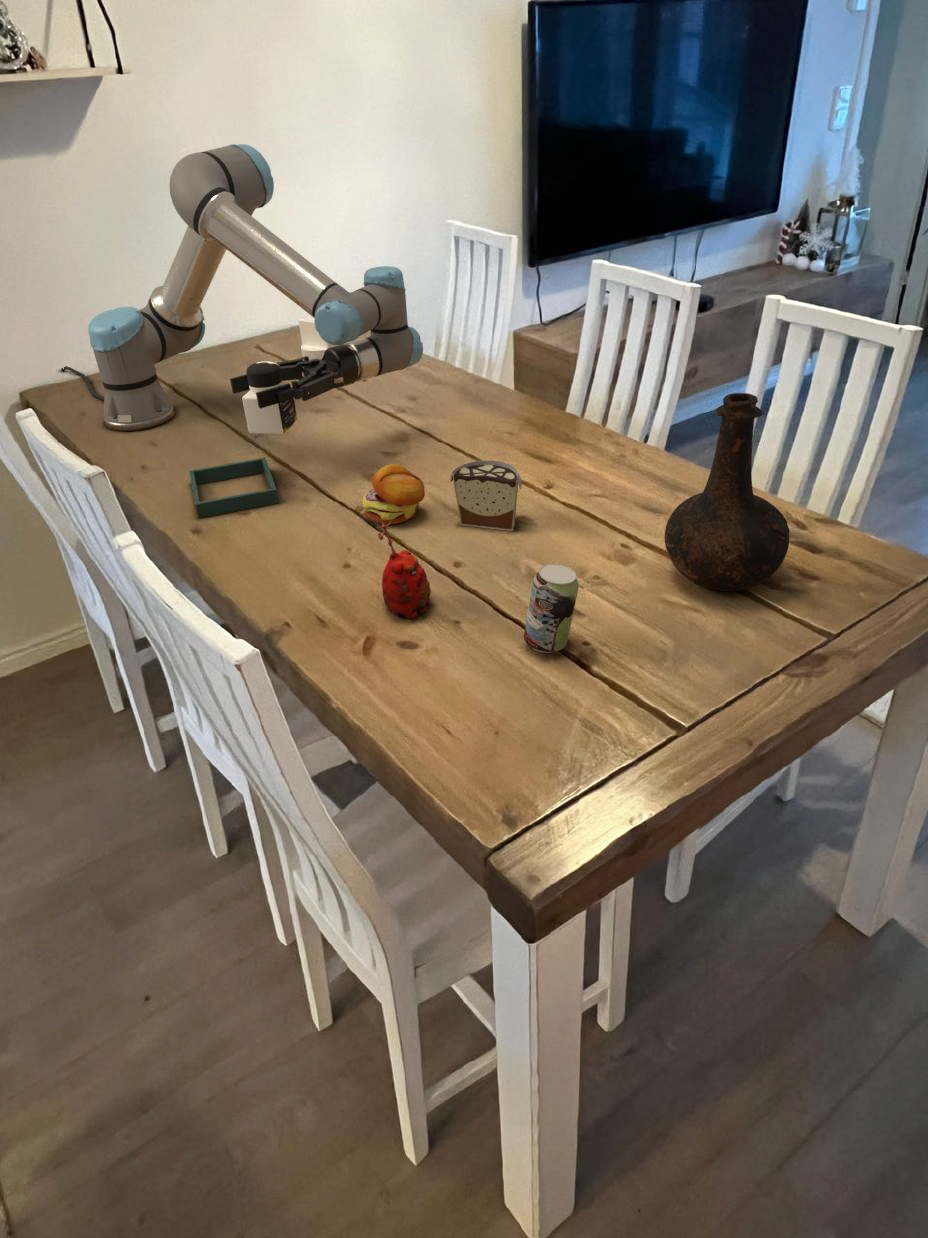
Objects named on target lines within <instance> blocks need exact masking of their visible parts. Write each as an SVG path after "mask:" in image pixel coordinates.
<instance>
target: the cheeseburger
mask: <svg viewBox="0 0 928 1238" xmlns="http://www.w3.org/2000/svg"><path fill="white" fill-rule="evenodd" d="M371 481H372V482H371V485H372V487H371V488H369V489H368V490H367V491H366V493H364V495H363V497H362V507H363V508H364V513H365V515H366V516H367V518H369V519H370V520H372V521H374V522H376V523H377V524H381V522H380V521H378V519H380V520H381V521H382V522H383V524H384V525H388V524H389V523H390V522H392V523H391V524H390V525H395V524H396V525H397V524H400V523H403V522H407V521H408V520H410V519H411V518H413V517H414V516H415V515H416V513H417V510H418V506H419V504H420V503H421V502H422V501H423V500H424V498H425V496H426V492H425V484H424V482H423V480H422V478H420V477H419V476H417V475H415V474H414V473H413V472H411V471H410V470H409V469H408V468H406V466H404V465H401V464H398V463H397V464H395V463H389V464H386V465H385V466H383V467H381V468H380V469H378V470H377V472H375V473H374V475H373V477H372V479H371Z"/></svg>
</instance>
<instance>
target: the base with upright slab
mask: <svg viewBox="0 0 928 1238" xmlns="http://www.w3.org/2000/svg"><path fill="white" fill-rule="evenodd" d="M298 327H299V333H300V340H301V346H300V351H301V358H302V357H305V356H307V357H309V361H310V360H312V359H319V360H322V358H323V356H324V353H325V351H326V349H328V348H330V347H334V346H338V345H332V344H329V343H327V342H325V341H324V340H323V339H322V338H321V337H320V334H319V333H318V331H317V330H316V328H315V323H314V317H302V318H300V319H298Z"/></svg>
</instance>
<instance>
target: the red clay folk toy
mask: <svg viewBox="0 0 928 1238" xmlns="http://www.w3.org/2000/svg"><path fill="white" fill-rule="evenodd" d="M378 521H380V522H381V523H380V524H381V525H382V526H381V527H380V526H379V527H378V526H377V527H376V530H377V529H378V530H381V529H382V530H383V531H382V532H378V534H377V537H378V540H380V541H383V539H384V535H386V537H387V544H388V546H389V547H390V549H391V554H390V555H389V558H388V561H387V562H386V564H385V567H384V569H383V571H382V577H381V587H382V597H383V602H384V605H385V606H386V607H387V609H388V610H389V611H390V612H391V613H392V614H393V615H394V616H396V617H398V618H403V617H404V618H405V619H409V620H410V619H415V618H416V617H418V616H419V615H422V614H423V613H426V612H427V606H429V605H430V603H431V599H430V596H431V592H432V591H431V587H430V586H431V585H430V584H431V583H430V581H429V579H428V576H427V574H426V571H425V569H424V567H423V566H422V565H421V564H420V562H419V559H418V557H417V556H416V555H413V554H412V552H411V551H409V550H406V549H403V550H402V551H400V552H399V553H398V552H396V550H395V548H394V546H393V542H394V539H391V538H390V535H389V532H388V530H387V529H388V527H389V526H390V525H392V524H391V523H392V522H390V523H389V524H383V522H382V521H381V520H380V519H378Z"/></svg>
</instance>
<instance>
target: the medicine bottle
mask: <svg viewBox="0 0 928 1238" xmlns="http://www.w3.org/2000/svg"><path fill="white" fill-rule="evenodd" d="M277 363H278V362H273V361H267V360H266V361H258V362H257V361H256V362H254V363H252V364H250V365H249V366H247V368H246V370H245V372H246V374H247V378H248V383H249V388H250V390H248V391H247V393H245V394H244V395H243V396H242V398H241V400H242V405H243V410H244V415H245V421H246V426H247V430H248V433H249V434H251V435H275V436H276V435H278V436H284V435H285V434H286V433H287V432H288V431H290V429H291V428H292V427H293V426H294V425H295V424H296V423H297V421H298V415H297V409H296V402H295V399H294V398H293V399H291V400H288V401H284V402H281V403H277V404H274V405H271V406H267V407H264V408H259V406H258V401H257V396H256V393H257V392H260V391H264V390H267V389H271V388H274V387H278V386H281V385H284V383H283V381H282V377H281V371H280V366H279V365H278V364H277ZM291 388H292V385H291Z"/></svg>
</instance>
